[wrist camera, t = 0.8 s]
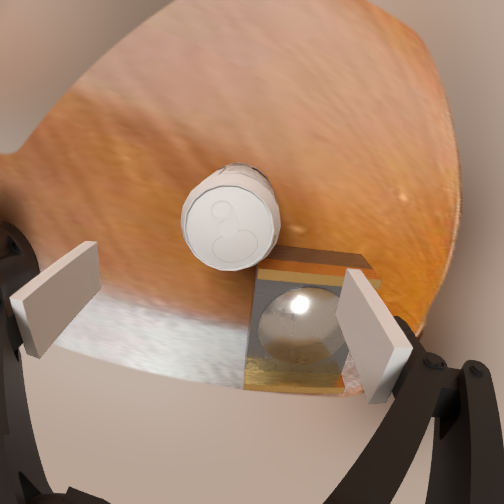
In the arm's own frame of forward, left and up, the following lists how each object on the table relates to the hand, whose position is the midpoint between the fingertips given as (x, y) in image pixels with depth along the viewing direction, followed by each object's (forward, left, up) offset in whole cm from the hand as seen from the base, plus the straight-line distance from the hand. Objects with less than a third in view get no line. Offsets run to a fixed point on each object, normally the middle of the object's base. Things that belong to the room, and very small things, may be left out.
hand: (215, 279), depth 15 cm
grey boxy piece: (+10, -15, -24) cm, 30 cm away
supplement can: (0, 0, -24) cm, 24 cm away
